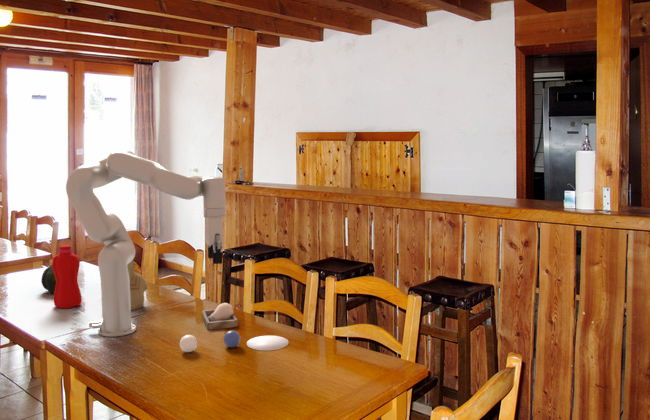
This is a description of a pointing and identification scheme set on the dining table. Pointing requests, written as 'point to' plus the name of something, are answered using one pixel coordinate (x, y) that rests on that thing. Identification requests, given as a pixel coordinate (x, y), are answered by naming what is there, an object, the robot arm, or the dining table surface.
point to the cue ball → (188, 343)
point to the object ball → (231, 339)
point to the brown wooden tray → (218, 324)
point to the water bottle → (66, 278)
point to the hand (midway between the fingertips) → (215, 260)
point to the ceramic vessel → (136, 287)
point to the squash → (49, 280)
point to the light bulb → (221, 313)
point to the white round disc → (267, 343)
